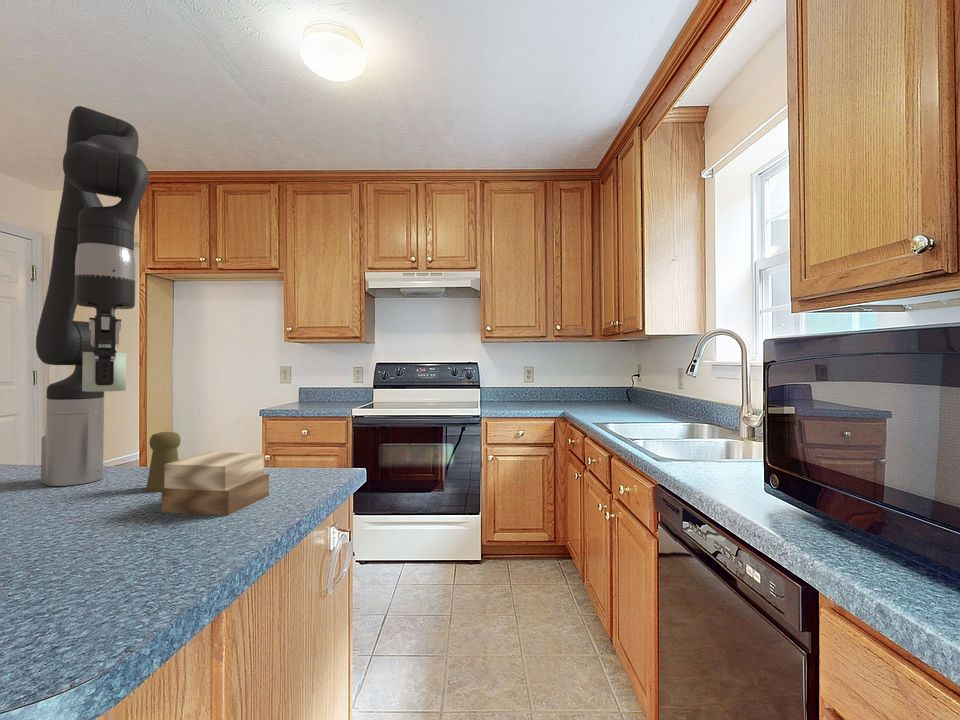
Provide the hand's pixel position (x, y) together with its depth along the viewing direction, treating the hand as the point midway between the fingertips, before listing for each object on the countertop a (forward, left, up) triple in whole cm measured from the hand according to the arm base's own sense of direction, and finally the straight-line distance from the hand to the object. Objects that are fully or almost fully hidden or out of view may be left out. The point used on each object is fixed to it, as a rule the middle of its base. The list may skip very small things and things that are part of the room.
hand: (104, 384), depth 76 cm
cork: (-6, +19, -22) cm, 30 cm away
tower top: (+12, +11, -17) cm, 24 cm away
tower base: (+12, +11, -22) cm, 27 cm away
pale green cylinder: (0, 0, -1) cm, 1 cm away
